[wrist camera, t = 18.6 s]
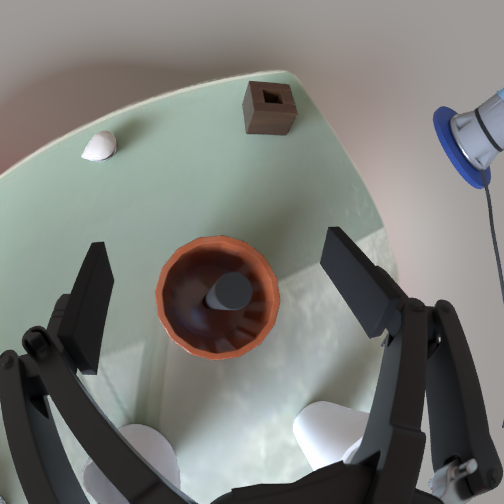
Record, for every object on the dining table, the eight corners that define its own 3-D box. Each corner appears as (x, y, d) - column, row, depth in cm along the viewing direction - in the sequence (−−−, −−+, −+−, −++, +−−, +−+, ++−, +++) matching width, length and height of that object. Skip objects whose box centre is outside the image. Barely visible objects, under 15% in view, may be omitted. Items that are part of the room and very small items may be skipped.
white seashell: (122, 157, 30) (118, 146, 28) (87, 174, 29) (81, 164, 26) (114, 133, 31) (110, 122, 28) (81, 149, 29) (75, 139, 27)
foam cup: (271, 408, 28) (317, 460, 15) (339, 376, 30) (409, 402, 18) (293, 463, 27) (339, 519, 14) (354, 432, 29) (416, 468, 17)
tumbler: (263, 315, 30) (300, 318, 19) (196, 354, 28) (197, 381, 17) (224, 248, 31) (241, 215, 20) (156, 285, 28) (134, 271, 18)
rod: (220, 304, 29) (259, 297, 11) (207, 311, 28) (227, 317, 11) (212, 291, 29) (240, 264, 12) (199, 298, 28) (207, 283, 11)
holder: (285, 135, 35) (297, 114, 31) (246, 134, 34) (254, 110, 29) (279, 106, 36) (289, 84, 32) (242, 104, 35) (249, 80, 30)
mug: (128, 400, 25) (103, 436, 15) (195, 442, 25) (198, 491, 16) (85, 461, 21) (58, 500, 12) (145, 498, 22) (136, 545, 12)
